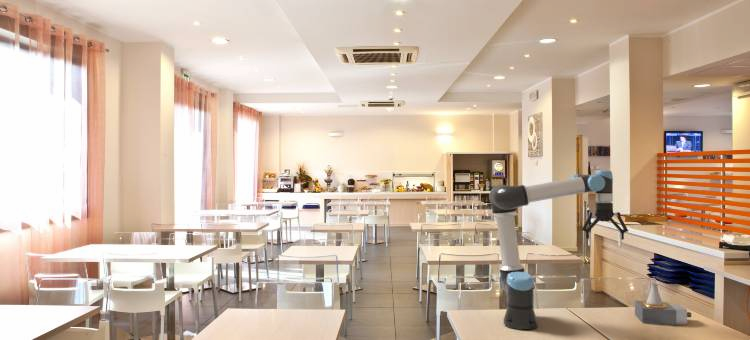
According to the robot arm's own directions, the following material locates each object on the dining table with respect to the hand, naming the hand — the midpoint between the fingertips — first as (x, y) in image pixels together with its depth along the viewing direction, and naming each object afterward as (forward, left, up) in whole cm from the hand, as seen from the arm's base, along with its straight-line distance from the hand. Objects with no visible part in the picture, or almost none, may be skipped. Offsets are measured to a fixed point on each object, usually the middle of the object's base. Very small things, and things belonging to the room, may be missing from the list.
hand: (604, 246), depth 236 cm
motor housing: (+26, +2, -35) cm, 43 cm away
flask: (+22, +2, -28) cm, 35 cm away
